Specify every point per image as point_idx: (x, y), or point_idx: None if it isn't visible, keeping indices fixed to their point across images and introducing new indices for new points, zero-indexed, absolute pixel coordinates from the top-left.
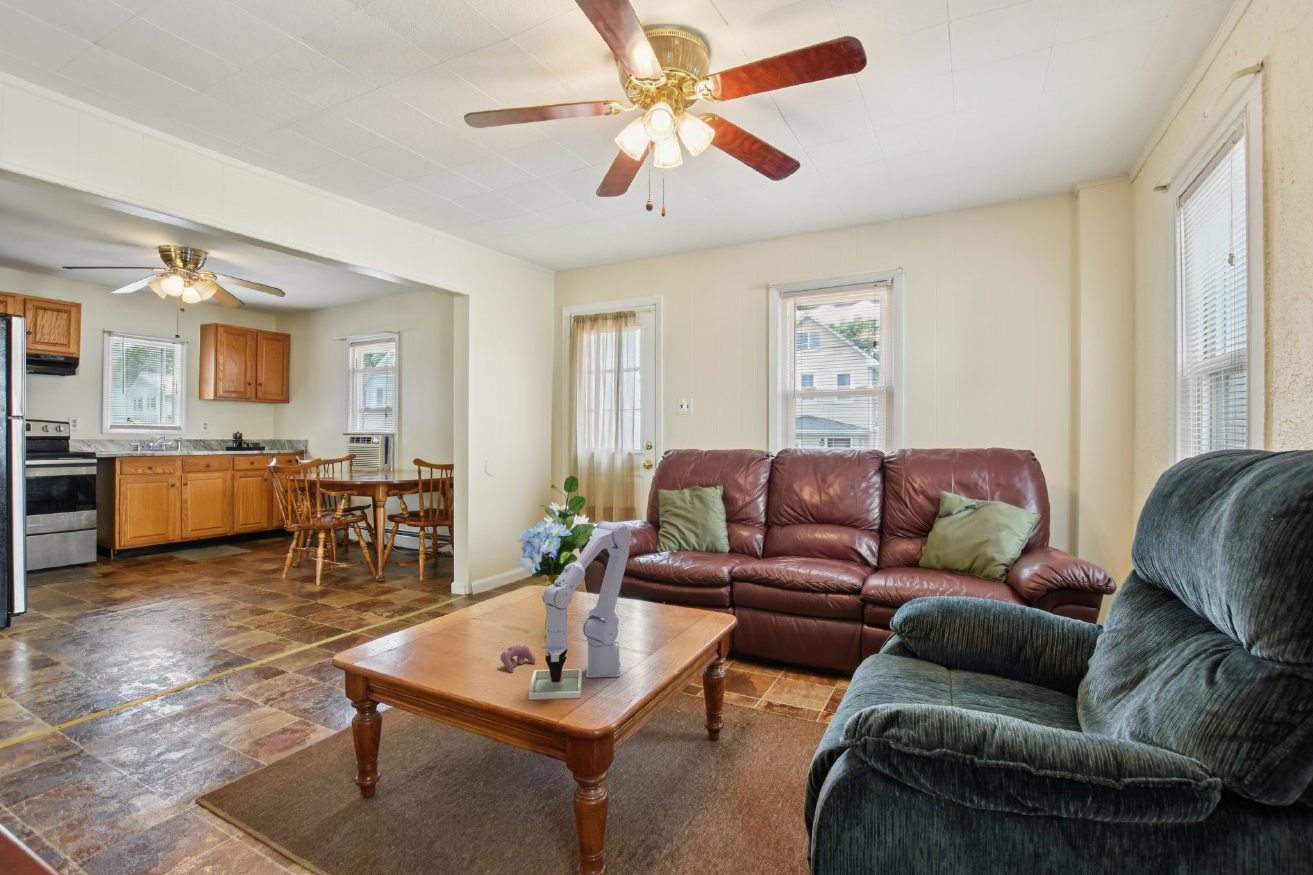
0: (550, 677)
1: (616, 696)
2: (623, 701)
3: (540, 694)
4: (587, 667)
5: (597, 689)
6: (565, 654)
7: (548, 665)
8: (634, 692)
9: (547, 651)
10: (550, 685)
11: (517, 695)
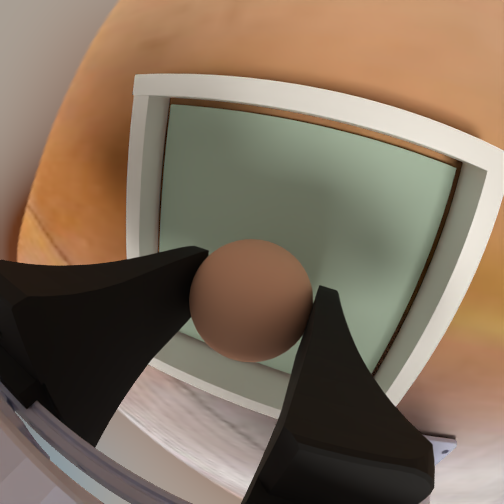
0: (219, 249)
1: (158, 413)
2: (129, 406)
3: (132, 148)
4: (439, 444)
5: (217, 404)
6: (246, 492)
7: (49, 269)
8: (182, 449)
9: (289, 434)
10: (314, 233)
11: (229, 12)
